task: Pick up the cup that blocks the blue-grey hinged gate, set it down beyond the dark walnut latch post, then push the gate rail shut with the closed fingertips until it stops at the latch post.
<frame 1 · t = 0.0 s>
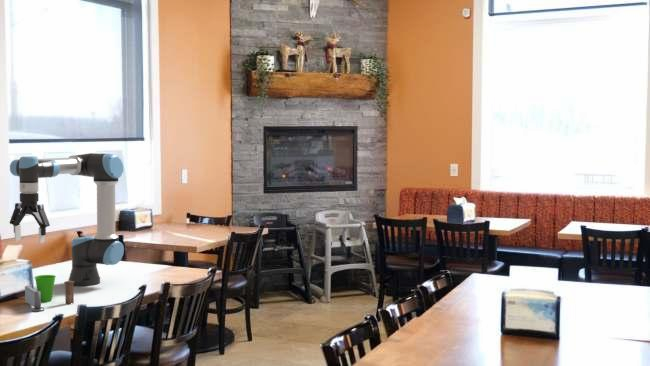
hand: (29, 241, 332), 28 cm above the table, fingers open, 13 cm apart
hinge base: (37, 310, 326), on the table
gate: (32, 296, 331), point 5 cm above the table, hinge at 60.0°
cup: (45, 301, 344), on the table
latch post: (69, 303, 339), on the table
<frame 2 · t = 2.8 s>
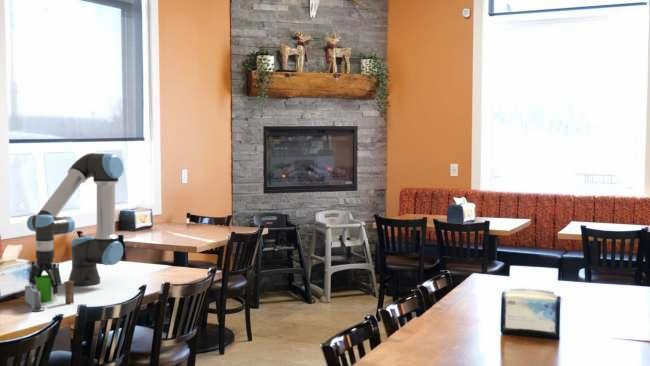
hand: (45, 299, 343), 1 cm above the table, fingers closed on cup, 9 cm apart
cup: (45, 301, 344), on the table, touching gripper
everything else where it was.
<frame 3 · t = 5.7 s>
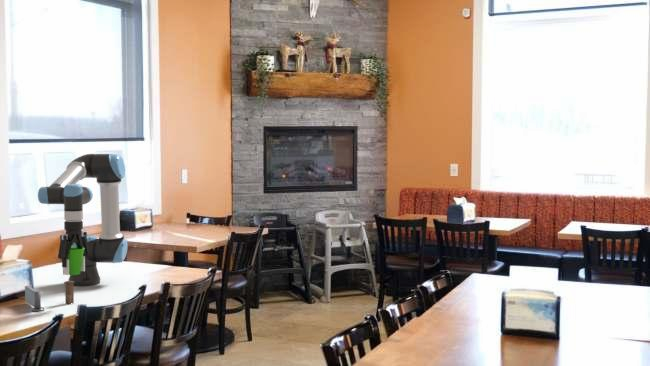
hand: (74, 272, 331), 15 cm above the table, fingers closed on cup, 9 cm apart
cup: (73, 274, 331), point 14 cm above the table, touching gripper
everything else where it was.
when the fingers open (2 cm above the table, at t = 8.4 s): cup drops 2 cm, on the table.
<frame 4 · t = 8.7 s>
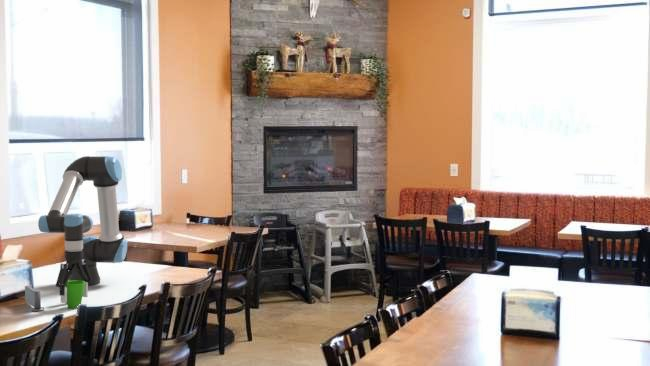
hand: (74, 299, 332), 3 cm above the table, fingers open, 12 cm apart
cup: (74, 308, 332), on the table
everything else where it was.
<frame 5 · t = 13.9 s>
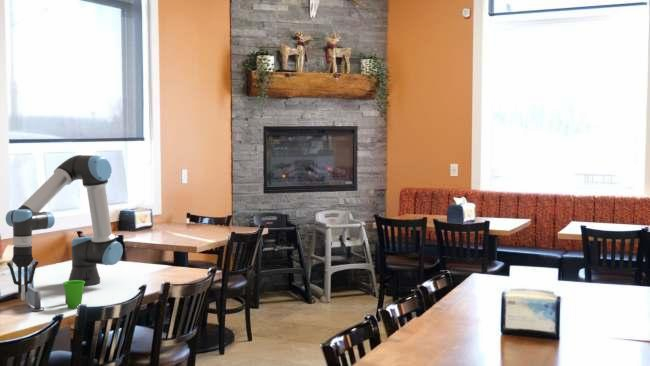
hand: (22, 299, 333), 3 cm above the table, fingers closed
gate: (32, 296, 332), point 4 cm above the table, hinge at 58.8°, touching gripper
everything else where it was.
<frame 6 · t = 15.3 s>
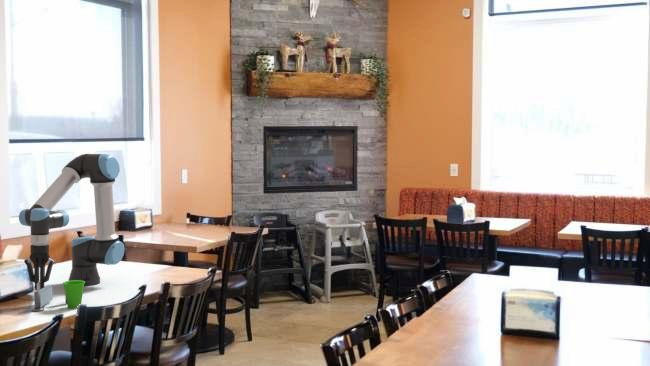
hand: (39, 297, 336), 3 cm above the table, fingers closed
gate: (43, 296, 333), point 5 cm above the table, hinge at 24.4°, touching gripper
everything else where it was.
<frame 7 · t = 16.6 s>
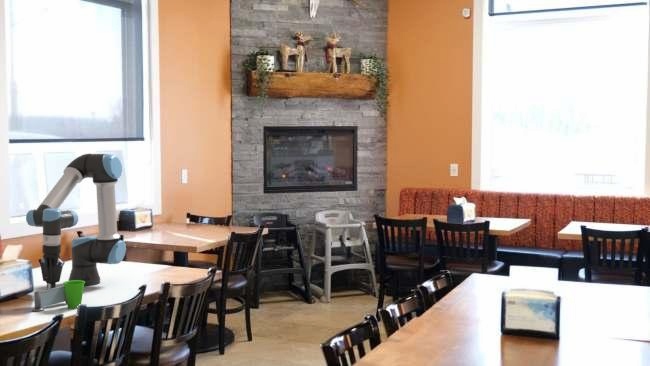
hand: (51, 297, 337), 3 cm above the table, fingers closed
gate: (50, 296, 332), point 4 cm above the table, hinge at -1.5°, touching gripper
everything else where it was.
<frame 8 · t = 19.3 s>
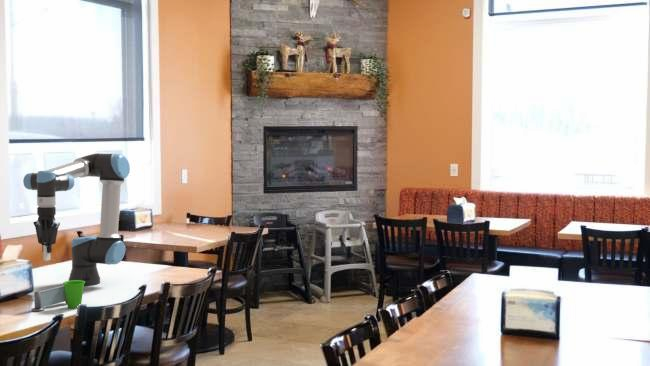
hand: (47, 260, 337), 19 cm above the table, fingers closed
gate: (50, 296, 332), point 5 cm above the table, hinge at -1.5°
everything else where it was.
at the end: gate at -2° (first picture: +60°); cup inside the target area (0.1 cm from its centre), on the table; cup tilted 0° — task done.
